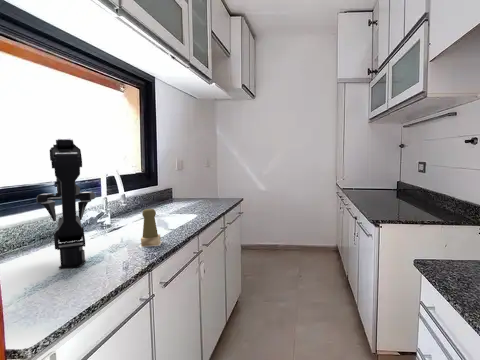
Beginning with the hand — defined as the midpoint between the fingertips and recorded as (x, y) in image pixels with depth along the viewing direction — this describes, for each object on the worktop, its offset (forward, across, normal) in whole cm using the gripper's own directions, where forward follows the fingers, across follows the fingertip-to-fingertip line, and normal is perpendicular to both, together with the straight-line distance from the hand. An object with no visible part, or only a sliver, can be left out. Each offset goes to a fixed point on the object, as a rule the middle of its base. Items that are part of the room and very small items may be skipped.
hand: (67, 220), depth 134 cm
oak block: (+12, -28, -9) cm, 32 cm away
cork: (+10, -28, -9) cm, 31 cm away
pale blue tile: (+13, -26, -9) cm, 30 cm away
